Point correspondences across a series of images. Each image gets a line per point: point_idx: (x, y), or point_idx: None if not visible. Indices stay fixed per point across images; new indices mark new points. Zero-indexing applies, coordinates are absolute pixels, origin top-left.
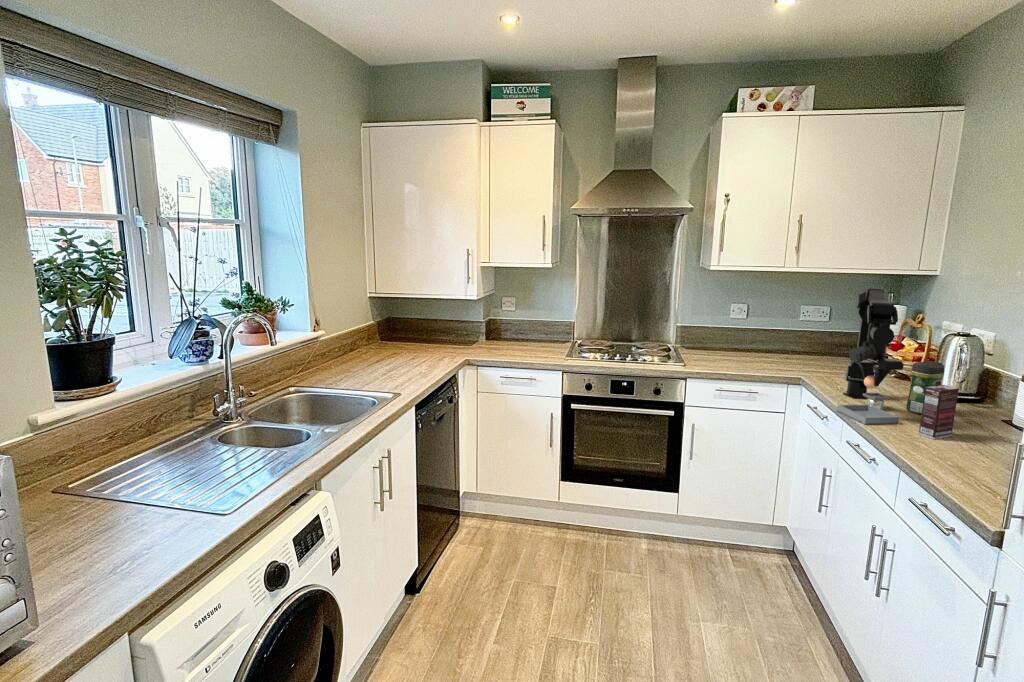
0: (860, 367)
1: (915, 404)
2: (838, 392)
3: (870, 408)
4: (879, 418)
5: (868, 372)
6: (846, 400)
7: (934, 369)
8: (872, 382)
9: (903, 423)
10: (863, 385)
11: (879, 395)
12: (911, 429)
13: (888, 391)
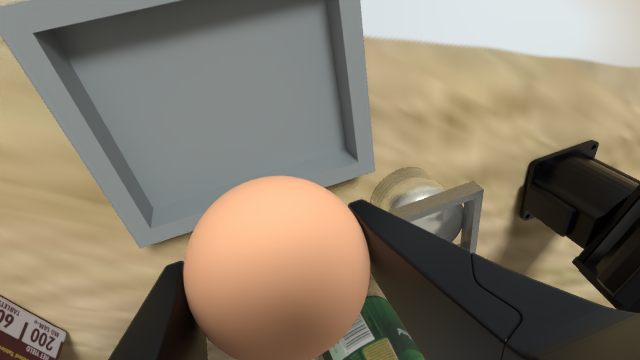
0: (585, 300)
1: (351, 339)
2: (616, 130)
3: (333, 162)
4: (67, 130)
5: (429, 332)
6: (520, 118)
7: None
8: (185, 269)
9: (172, 245)
10: (578, 228)
11: None
12: (60, 252)
13: (561, 287)
